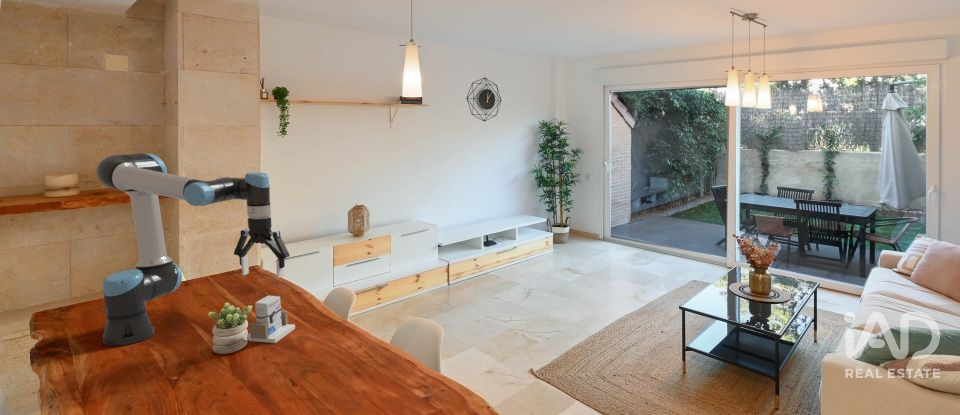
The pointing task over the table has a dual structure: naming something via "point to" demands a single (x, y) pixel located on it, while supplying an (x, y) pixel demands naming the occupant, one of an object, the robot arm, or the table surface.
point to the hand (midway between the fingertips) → (262, 275)
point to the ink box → (269, 312)
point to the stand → (262, 335)
